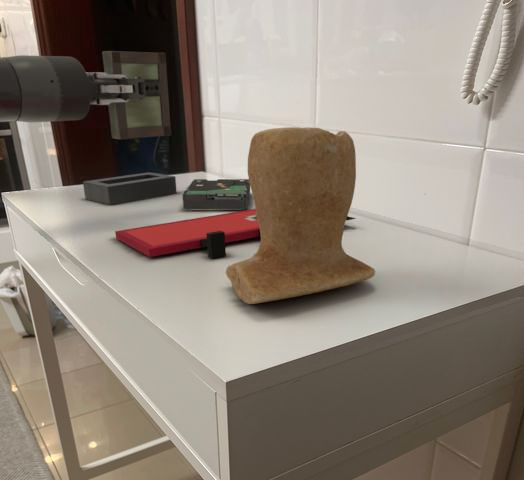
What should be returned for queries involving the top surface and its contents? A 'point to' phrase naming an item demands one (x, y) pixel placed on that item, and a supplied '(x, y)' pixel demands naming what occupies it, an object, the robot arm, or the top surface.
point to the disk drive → (217, 194)
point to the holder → (129, 188)
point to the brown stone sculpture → (299, 215)
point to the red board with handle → (194, 234)
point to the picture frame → (139, 110)
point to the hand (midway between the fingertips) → (154, 87)
